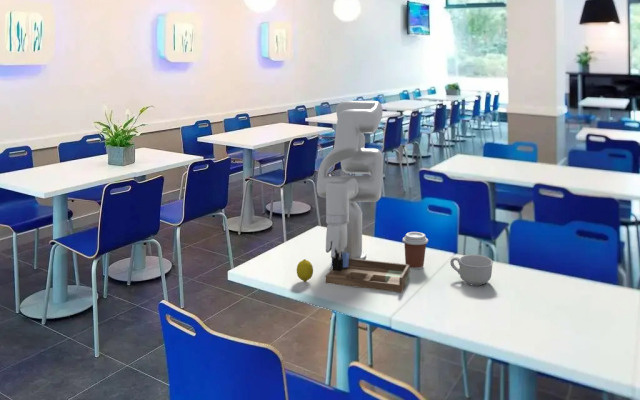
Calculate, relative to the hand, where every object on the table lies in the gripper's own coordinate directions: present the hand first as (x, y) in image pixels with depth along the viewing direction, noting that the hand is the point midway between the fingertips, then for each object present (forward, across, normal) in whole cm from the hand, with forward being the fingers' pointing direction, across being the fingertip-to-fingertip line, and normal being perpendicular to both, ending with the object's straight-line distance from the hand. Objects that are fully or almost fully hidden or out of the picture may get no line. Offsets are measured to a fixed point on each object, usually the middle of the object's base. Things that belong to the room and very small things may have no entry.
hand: (337, 269), depth 192 cm
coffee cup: (+4, -21, +22) cm, 31 cm away
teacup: (+4, -13, +43) cm, 45 cm away
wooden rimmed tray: (+4, -2, +10) cm, 11 cm away
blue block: (0, -4, 0) cm, 4 cm away
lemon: (+4, +5, -10) cm, 12 cm away
